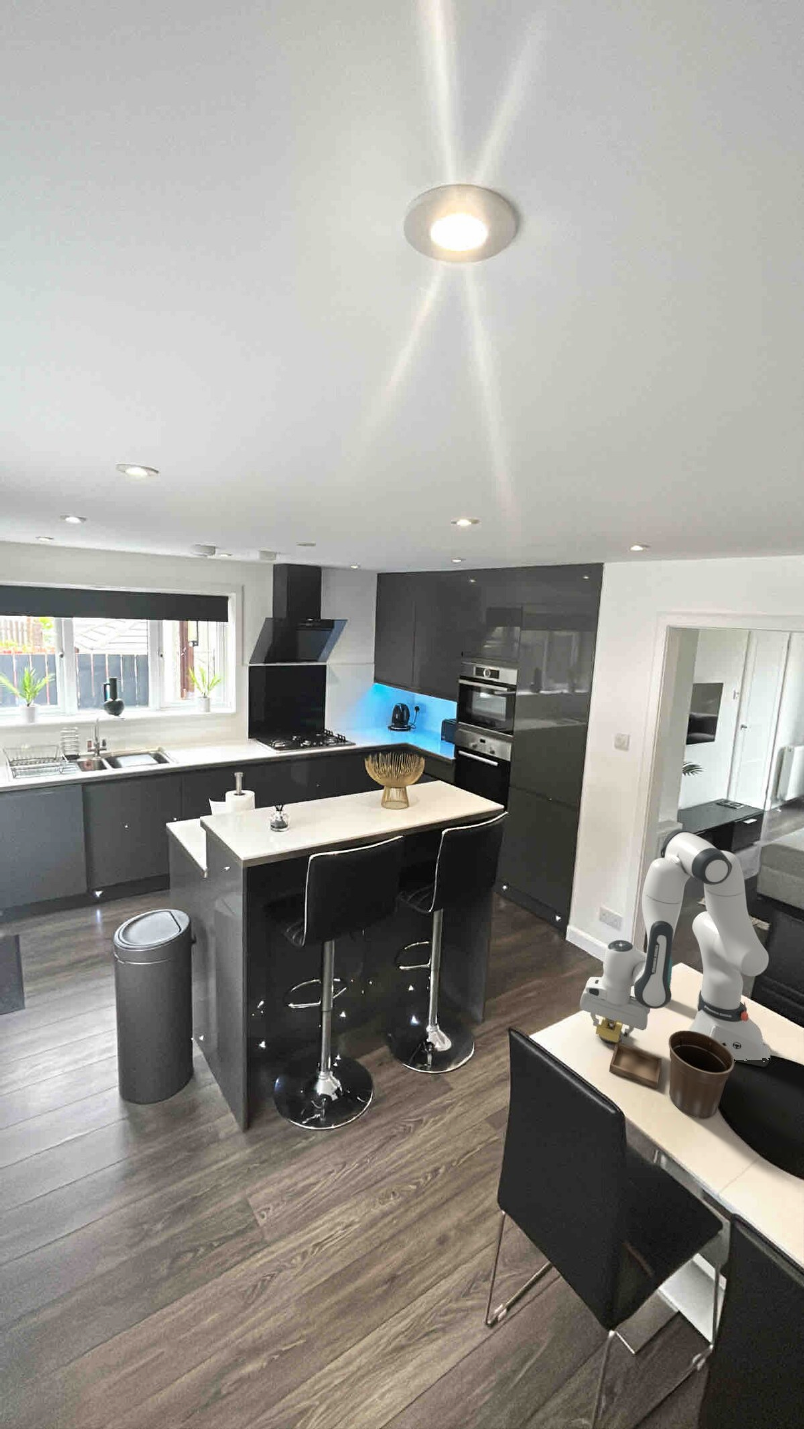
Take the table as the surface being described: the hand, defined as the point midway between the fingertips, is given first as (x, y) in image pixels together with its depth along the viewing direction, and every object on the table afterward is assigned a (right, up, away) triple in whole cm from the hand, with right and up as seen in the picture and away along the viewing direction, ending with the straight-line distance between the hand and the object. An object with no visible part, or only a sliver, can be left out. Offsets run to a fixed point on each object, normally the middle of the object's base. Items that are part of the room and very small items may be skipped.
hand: (611, 1030), depth 196 cm
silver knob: (0, -2, 0) cm, 2 cm away
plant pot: (+15, -8, -24) cm, 29 cm away
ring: (0, 0, 0) cm, 0 cm away
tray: (+3, -5, -12) cm, 14 cm away
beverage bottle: (+23, 0, +21) cm, 31 cm away
